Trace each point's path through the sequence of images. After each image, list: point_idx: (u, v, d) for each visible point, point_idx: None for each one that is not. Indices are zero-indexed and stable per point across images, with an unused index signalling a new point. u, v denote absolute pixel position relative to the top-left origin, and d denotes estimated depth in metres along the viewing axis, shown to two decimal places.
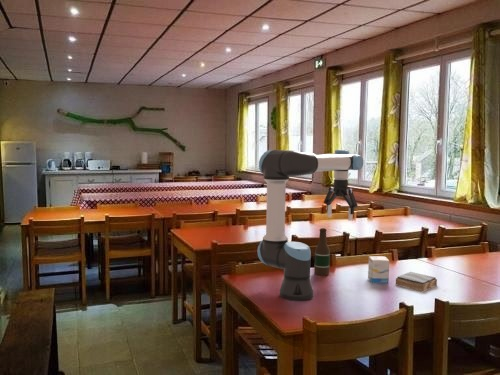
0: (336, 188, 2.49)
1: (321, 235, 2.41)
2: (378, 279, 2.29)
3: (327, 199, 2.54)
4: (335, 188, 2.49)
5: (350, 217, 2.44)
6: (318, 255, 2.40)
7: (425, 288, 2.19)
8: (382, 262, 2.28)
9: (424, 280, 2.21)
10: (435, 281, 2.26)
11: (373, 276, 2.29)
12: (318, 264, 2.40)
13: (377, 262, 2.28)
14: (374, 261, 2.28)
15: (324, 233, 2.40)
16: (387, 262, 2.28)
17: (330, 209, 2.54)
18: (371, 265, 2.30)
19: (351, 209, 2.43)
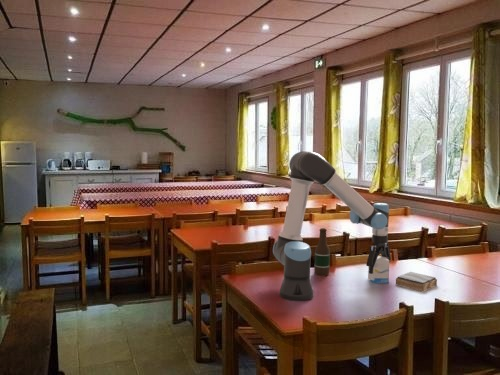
0: None
1: (321, 235, 2.41)
2: (378, 279, 2.29)
3: None
4: None
5: (370, 276, 2.29)
6: (318, 255, 2.40)
7: (425, 288, 2.19)
8: (382, 262, 2.28)
9: (424, 280, 2.21)
10: (435, 281, 2.26)
11: None
12: (318, 264, 2.40)
13: (377, 262, 2.28)
14: None
15: (324, 233, 2.40)
16: (387, 262, 2.28)
17: None
18: None
19: None
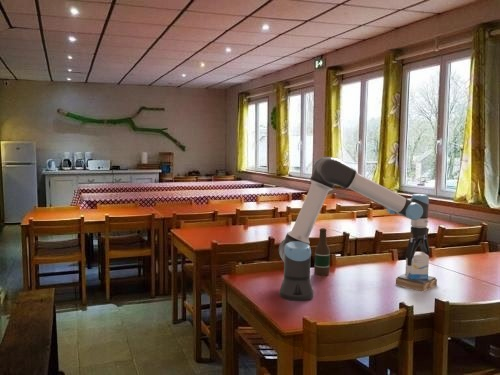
0: None
1: (321, 235, 2.41)
2: (417, 275, 2.22)
3: None
4: None
5: (408, 268, 2.22)
6: (318, 255, 2.40)
7: (425, 288, 2.19)
8: (421, 257, 2.21)
9: (424, 280, 2.21)
10: (435, 281, 2.26)
11: None
12: (318, 264, 2.40)
13: (416, 257, 2.22)
14: (413, 256, 2.22)
15: (324, 233, 2.40)
16: (427, 257, 2.22)
17: None
18: None
19: None
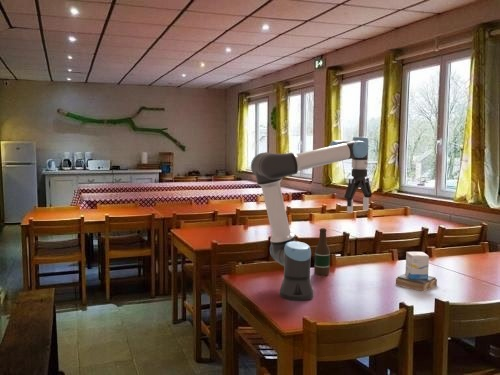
0: None
1: (321, 235, 2.41)
2: (417, 275, 2.22)
3: None
4: None
5: (348, 209, 2.25)
6: (318, 255, 2.40)
7: (425, 288, 2.19)
8: (421, 257, 2.21)
9: (424, 280, 2.21)
10: (435, 281, 2.26)
11: (412, 272, 2.22)
12: (318, 264, 2.40)
13: (416, 257, 2.22)
14: (413, 256, 2.22)
15: (324, 233, 2.40)
16: (427, 257, 2.22)
17: (365, 202, 2.34)
18: (410, 261, 2.24)
19: None
